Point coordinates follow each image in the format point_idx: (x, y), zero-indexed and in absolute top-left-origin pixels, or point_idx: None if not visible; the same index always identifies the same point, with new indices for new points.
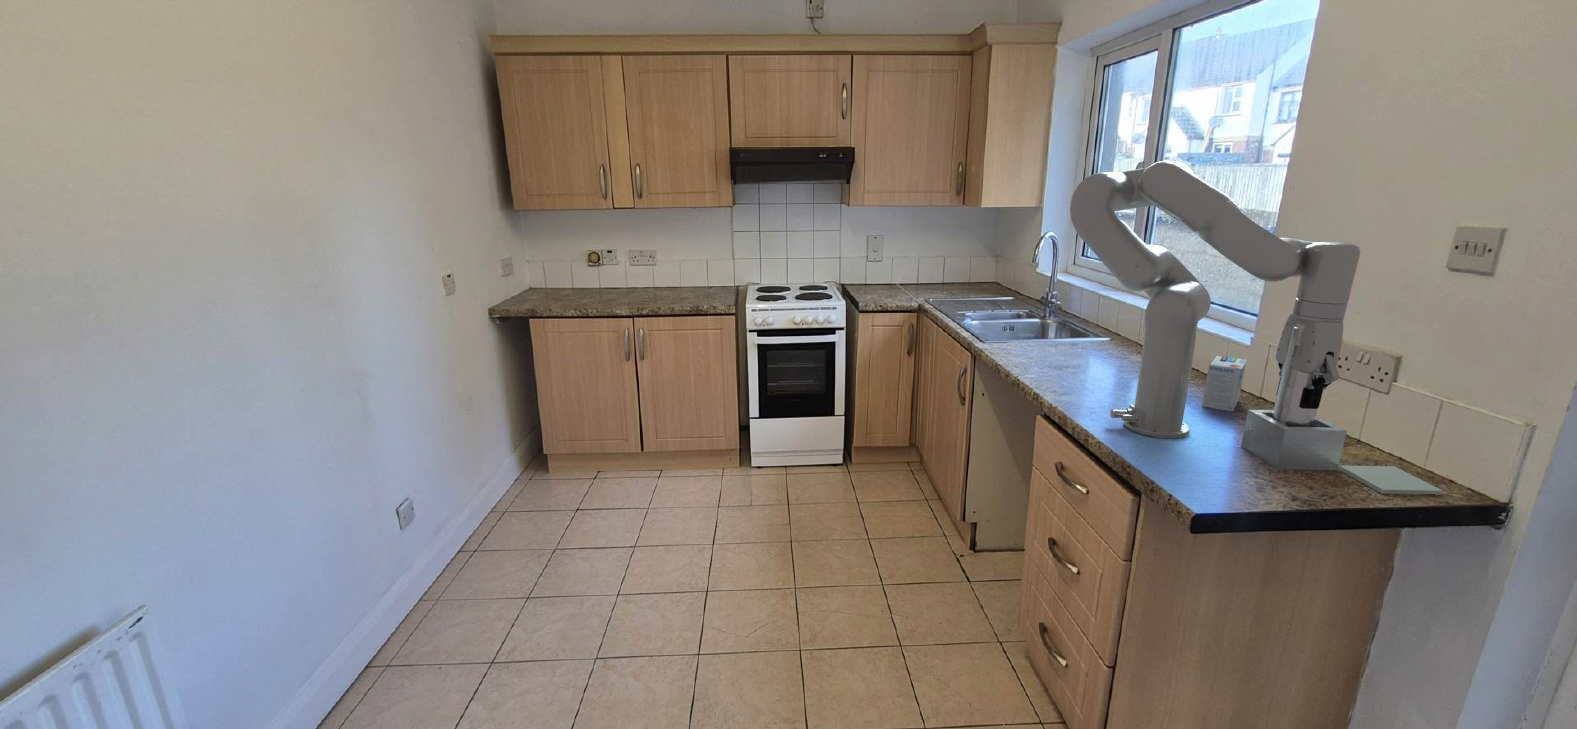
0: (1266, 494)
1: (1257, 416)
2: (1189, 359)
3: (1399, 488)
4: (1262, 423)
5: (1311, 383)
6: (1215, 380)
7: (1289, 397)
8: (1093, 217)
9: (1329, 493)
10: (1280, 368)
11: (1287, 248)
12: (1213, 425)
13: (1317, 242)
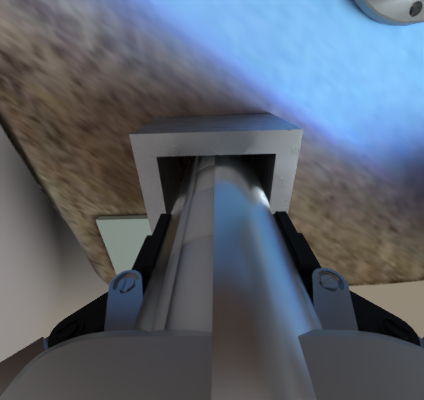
0: (5, 3)
1: (254, 129)
2: None
3: (107, 240)
4: (225, 128)
5: (108, 296)
6: None
7: (197, 210)
8: None
9: (71, 146)
10: (369, 306)
11: None
12: (392, 124)
13: None
